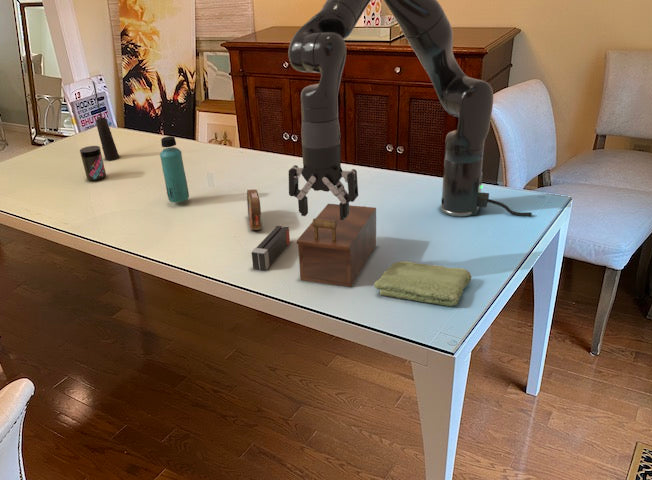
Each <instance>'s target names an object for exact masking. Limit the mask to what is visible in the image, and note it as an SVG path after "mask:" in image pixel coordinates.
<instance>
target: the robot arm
mask: <svg viewBox="0 0 652 480" xmlns="http://www.w3.org/2000/svg"><path fill="white" fill-rule="evenodd" d="M371 1H372V0H325V2H324V4H323V6H322V8H321V9H320V10H319V11H318V12H316V13H315V14H314V15H313V16H312V17H311V18H310V19H309V20H307V22H305V23H304V24H303V25H302V26H301V27H300V28H299V29H298V30H297V31H296V32H295V34H294V35H293V36H292V38H291V40H290V43H289V45H288V50H287V51H288V52H287V53H288V55H287V57H288V61H289V64H290V66H291V68H293V69H294V70H295V71H297V72H301V73H315V74H320V79H319V82H318V83H313V84H310V85H307V86H305V87H304V88H303V89H302V90H301V92H300V112H301V125H300V126H301V127H300V128H301V129H300V134H301V135H300V136H301V153H302V154H301V155H302V165H303V167H299V166H298V165H296V164H294V165H293V166H292V167H291V168H290V169H288V195H289V196H290V197H294V198H296V199H297V202H298V203H297V204H298V205H297V206H298V212H299V214H300V215H301V217H306V216H307V215H308V214H309V204H308V203H309V202H308V199H309V198H308V196H307V194H308V193H309V192H310V190H313V191H315V192H318V191H319V192H320V191H323V192H326V193H328V192H331V193H332V195H333V196H334V197H336V198H337V200H338V201H339V202H340V203H339V205H340V220H344V219H345V218H346V217H347V216H348V214H349V205H350V202H351V203H354V201H355V200H356V199H357V198H358V196H359V186H358V172H357V170H356V169H355V168H352V169H351V170H343V168H342V165H341V164H342V162H341V160H342V157H341V156H342V155H341V138H342V137H341V127H340V121H339V97H338V96H339V90H340V85H341V81H342V75H343V71H344V68H345V64H346V59H347V54H348V53H347V45H346V41H345V39H348V37H349V36H350V35H351V33H352V32H353V31H354V29H355V27H356V26H357V23H358V22H359V20H360V19H361V17H362V15H363V13H364V12H365V10H366V9H367V7H368V5H369V4H370V3H371ZM383 1H384V3H385V5H386V6H387V8H388V10H389V11H390V13H391V15H392V17H394V19H395V21H396V22H397V24H398V26H399V28H400V30H401V32H402V34H403V36H404V37H405V40H406V41H407V42H408V44H409V46H410V47H411V49H412V50H413V52H414V54H415V55H416V57H417V58H418V60H419V62H420V64H421V65H422V67H423V69H424V71H425V72H426V73H427V76H428V77H429V79H430V82H431V83H432V86H433V88H434V90H435V93H436V95H437V97H438V100H439V102H440V104H441V106H442V108H443V109H444V111H446V113H448V114H449V115H450V116H453V117H457V118H458V122H457V123H458V124H457V128H456V129H454V130H451V131H449V132H448V133H447V134H446V136H445V139H444V140H445V141H444V158H443V173H442V190H441V198H440V199H441V200H440V201H441V202H440V211H441V212H442V213H443V214H445V215H448V216H451V217H469V216H477V214H478V212H479V208H487V207H488V204H489V203H490V204H492V205H495V206H500V207H502V208H504V209H505V211H506V212H508V214H511V215H514V216H521V217H525V216H526V217H527V216H529V217H532V214H533V213H532V212H527V211H526V212H524V211H523V212H520V211H514V210H512V209H511V208H510V207H509V206H508V205H507V204H504V203H503V202H500V201H497V200H494V199H490V192H482V189H483V188H484V186H483V174H484V173H483V163H484V162H483V161H484V150H485V141H486V138H487V136H488V134H489V132H490V127H491V120H492V113H493V109H494V108H493V107H494V91H493V87H492V86H491V84H490V83H489V82H487V81H485V80H482V79H479V78H473V77H470V76H468V75H467V74H465V72H464V71H463V69H462V68H461V67H460V65H459V63H458V62H457V60H456V58H455V55H454V31H453V26H452V25H451V23H450V20H449V19H448V16H447V15H446V13H445V11H444V8H442V5H441V4H440V2H439V1H438V0H383ZM301 176H302V177H303V179H304V180H305V181H306V183H305V184H304V185H303V187H302V189H299V178H300V177H301ZM342 178H343V179H344V181H345V183H347V190H346V189H345V185H344V183H342V181H341V180H342Z"/></svg>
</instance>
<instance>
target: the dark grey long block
mask: <svg viewBox="0 0 652 480" xmlns="http://www.w3.org/2000/svg"><path fill="white" fill-rule="evenodd" d="M290 244H291V238H290V227H289V226H282V225H276V226H275V227H274V228H273V229H272V230H271V231H270V232H269V234H267V236H265V238H264V239H263V240H262V241H261V242H260V243H259V244H258V245H257V246H256V247H255V248H253V249H252V250H251V259H252V269H253V270H258V271H259V270H260V271H264V272H265V271H267V270H268V269H269V268H270V266H272V264H273V262H275V261H276V260H277V258H278V257H279V256H280V255H281V254H282V252H283V251H285V249H286V248H287V247H288V246H289V245H290Z"/></svg>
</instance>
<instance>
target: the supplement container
mask: <svg viewBox="0 0 652 480" xmlns="http://www.w3.org/2000/svg"><path fill="white" fill-rule="evenodd" d="M79 153H80V157H81V161H82V165H83V170H84V173H85V177H86V180H87V181H88V182H90V183H91V182H92V183H94V182H95V183H96V182H100V181H103V180H105V179H106V178H107V172H106V168H105V164H104V159H103V155H102V151H101V146H99V145H89V146H84V147H82V148H80V149H79Z"/></svg>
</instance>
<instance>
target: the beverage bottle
mask: <svg viewBox="0 0 652 480" xmlns="http://www.w3.org/2000/svg"><path fill="white" fill-rule="evenodd" d="M160 141H161V147H162V148H164V149H162V150H161V152H160V154H159V157H160V161H161V166H162V173H163V178H164V184H165V189H166V196H167V199H168V201H169V202H170V203H182V202H186V201H187V200H188V199H189V198H190V195H189V194H190V192H189V186H188V181H187V175H186V171H185V166H184V160H183V155H182V154H183V153H182V150H180V149H179V148H177V147H175V146H176V145H177V141H176V138H175V136H172V135H171V136H170V135H169V136H163V137H162V138H161V139H160Z"/></svg>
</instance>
